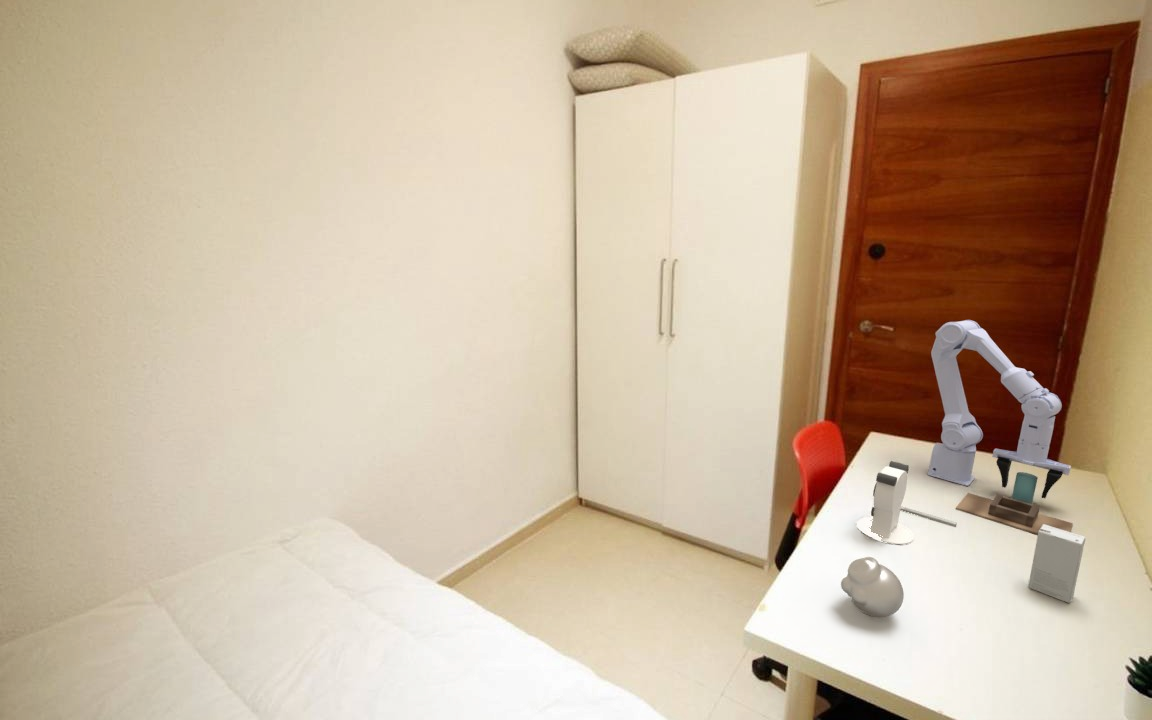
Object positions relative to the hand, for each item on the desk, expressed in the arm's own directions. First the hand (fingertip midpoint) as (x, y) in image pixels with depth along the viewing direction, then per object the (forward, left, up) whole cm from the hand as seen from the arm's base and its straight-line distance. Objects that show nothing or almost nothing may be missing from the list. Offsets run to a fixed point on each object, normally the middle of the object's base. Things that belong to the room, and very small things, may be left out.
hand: (1023, 491), depth 130 cm
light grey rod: (-14, -28, -3) cm, 31 cm away
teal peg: (0, 0, -3) cm, 3 cm away
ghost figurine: (-10, -74, -3) cm, 74 cm away
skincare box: (+10, -42, -3) cm, 43 cm away
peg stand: (0, -12, -3) cm, 12 cm away
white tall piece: (-18, -42, -3) cm, 46 cm away
